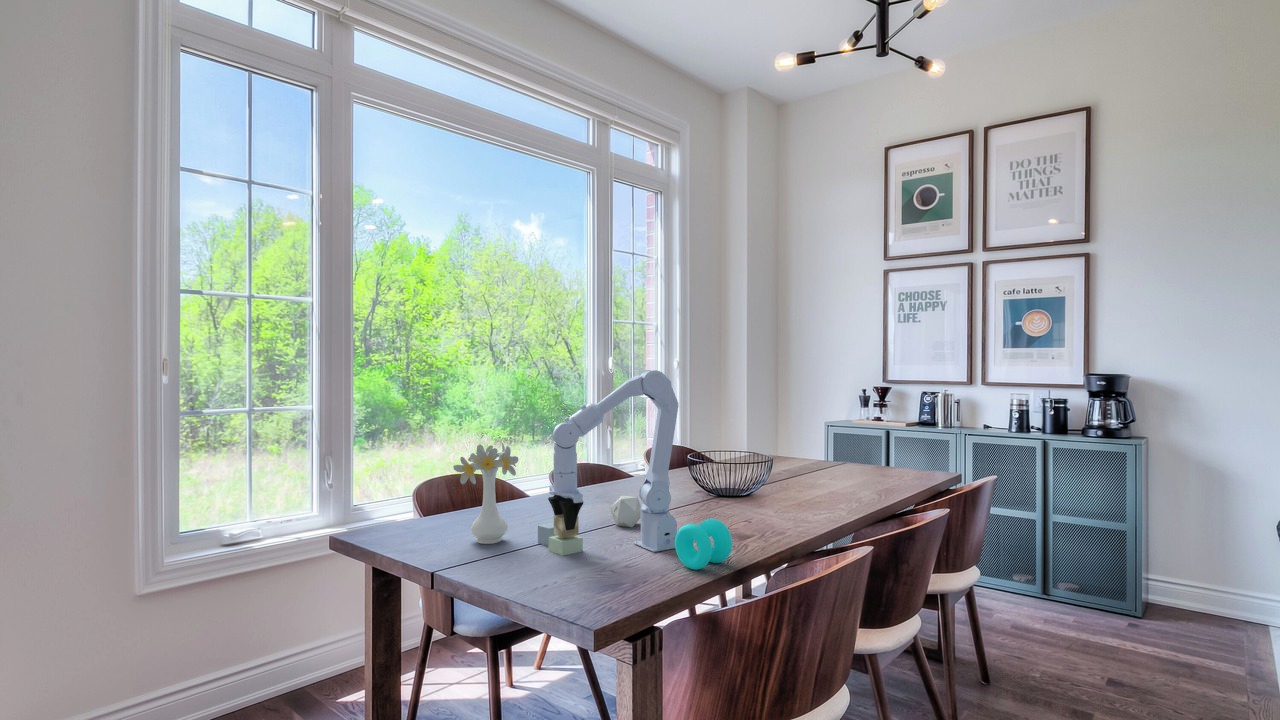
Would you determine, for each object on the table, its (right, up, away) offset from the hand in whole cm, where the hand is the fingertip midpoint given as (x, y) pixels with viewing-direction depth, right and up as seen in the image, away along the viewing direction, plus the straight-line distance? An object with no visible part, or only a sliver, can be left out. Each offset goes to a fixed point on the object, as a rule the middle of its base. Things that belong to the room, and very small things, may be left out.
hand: (565, 527), depth 164 cm
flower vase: (-21, -6, +8) cm, 23 cm away
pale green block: (0, -6, 0) cm, 6 cm away
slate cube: (-5, -6, +8) cm, 11 cm away
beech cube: (0, -2, 0) cm, 2 cm away
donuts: (+33, -6, -13) cm, 36 cm away
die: (+15, -6, +26) cm, 30 cm away
